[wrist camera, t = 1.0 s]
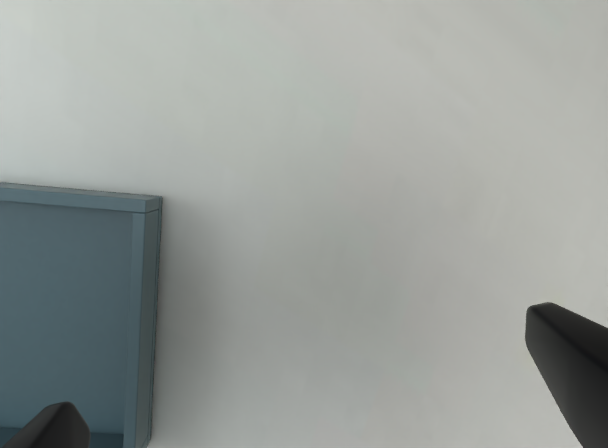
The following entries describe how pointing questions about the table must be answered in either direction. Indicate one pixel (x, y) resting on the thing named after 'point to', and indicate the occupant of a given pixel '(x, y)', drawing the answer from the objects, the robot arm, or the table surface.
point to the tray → (79, 308)
